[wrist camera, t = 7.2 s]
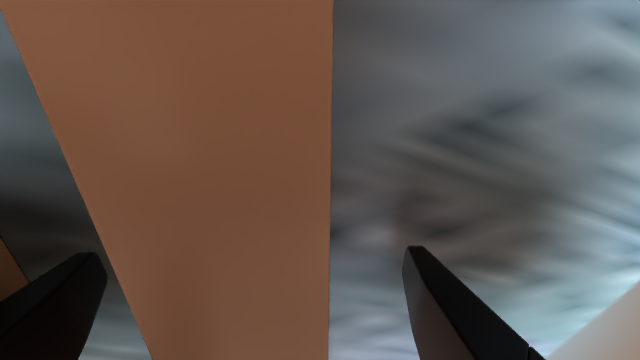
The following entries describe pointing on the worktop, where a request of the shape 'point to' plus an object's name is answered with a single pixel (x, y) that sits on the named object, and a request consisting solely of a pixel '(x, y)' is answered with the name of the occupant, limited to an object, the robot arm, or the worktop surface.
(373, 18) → the worktop surface
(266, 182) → the clay strip
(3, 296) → the wooden open tray
